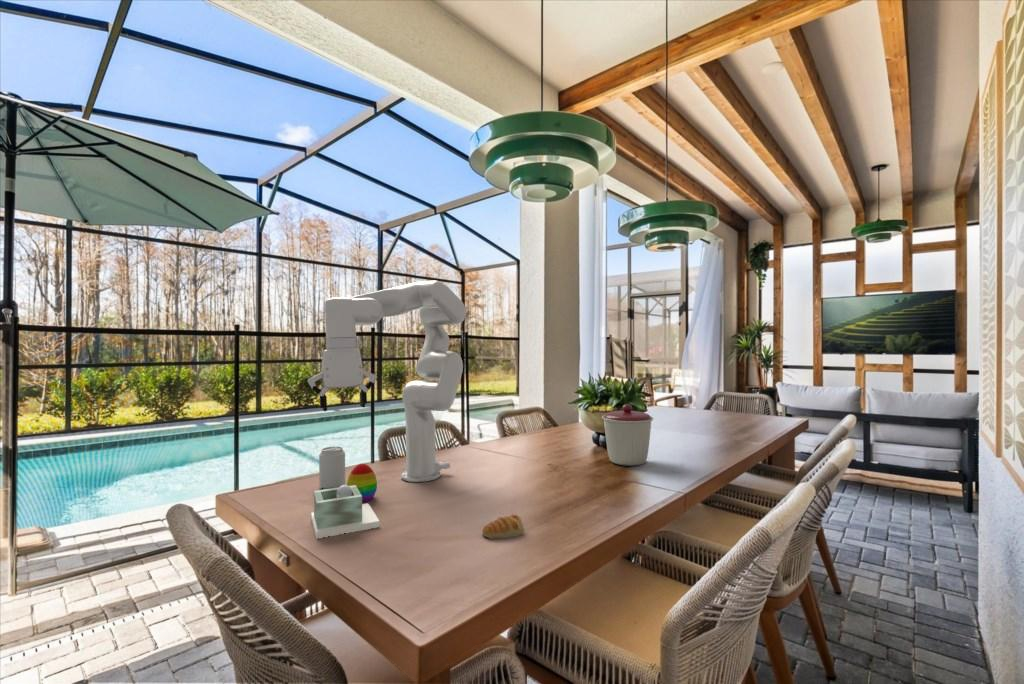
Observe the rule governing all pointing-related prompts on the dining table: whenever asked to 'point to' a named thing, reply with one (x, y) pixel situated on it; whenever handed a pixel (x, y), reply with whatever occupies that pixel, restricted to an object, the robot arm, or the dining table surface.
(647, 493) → the dining table surface
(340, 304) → the robot arm
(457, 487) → the dining table surface
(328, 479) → the can
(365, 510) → the post board
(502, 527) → the pastry
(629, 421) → the canister
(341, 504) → the collar
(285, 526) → the dining table surface
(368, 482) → the decorative egg
